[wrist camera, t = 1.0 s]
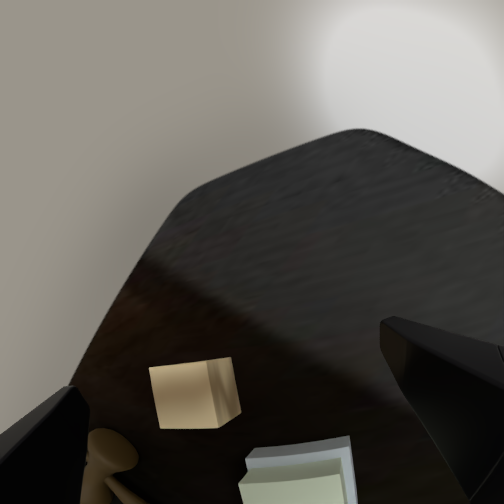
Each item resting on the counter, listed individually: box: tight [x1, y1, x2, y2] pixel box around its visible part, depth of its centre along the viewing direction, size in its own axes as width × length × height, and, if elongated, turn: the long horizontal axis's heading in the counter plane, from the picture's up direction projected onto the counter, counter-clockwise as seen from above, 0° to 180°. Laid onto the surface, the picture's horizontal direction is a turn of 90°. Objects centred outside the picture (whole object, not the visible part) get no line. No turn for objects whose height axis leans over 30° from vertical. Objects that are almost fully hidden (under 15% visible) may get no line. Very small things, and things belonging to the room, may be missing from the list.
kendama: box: [80, 428, 149, 504], centre depth 22 cm, size 6×10×20 cm
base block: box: [245, 436, 358, 504], centre depth 19 cm, size 8×8×3 cm
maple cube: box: [149, 357, 241, 429], centre depth 23 cm, size 5×5×5 cm
